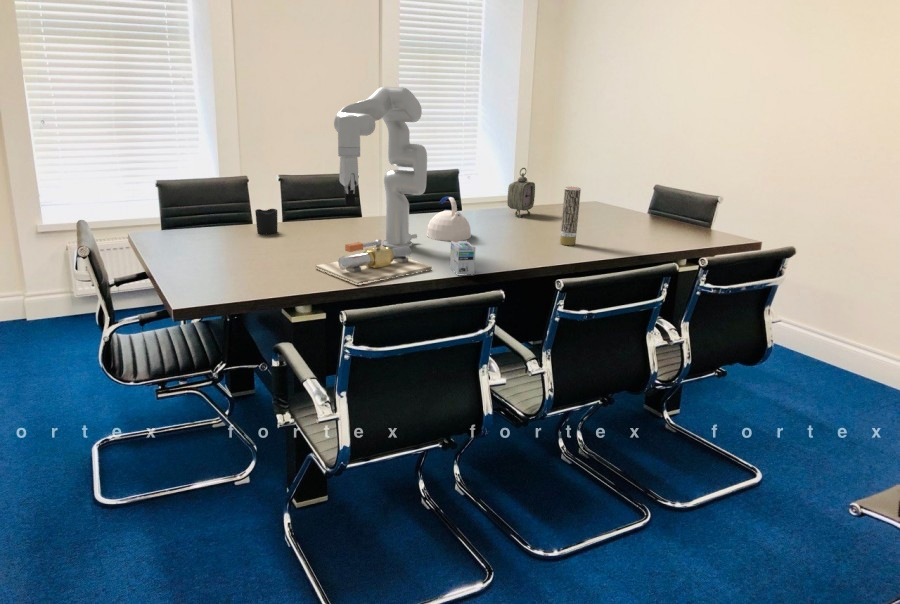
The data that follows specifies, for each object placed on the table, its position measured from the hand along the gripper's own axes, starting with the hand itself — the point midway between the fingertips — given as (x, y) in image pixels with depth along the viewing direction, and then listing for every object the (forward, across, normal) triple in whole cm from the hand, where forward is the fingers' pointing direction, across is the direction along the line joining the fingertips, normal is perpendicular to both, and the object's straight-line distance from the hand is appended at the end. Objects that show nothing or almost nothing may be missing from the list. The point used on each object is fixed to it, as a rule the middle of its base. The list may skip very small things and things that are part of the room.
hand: (349, 204), depth 242 cm
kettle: (+26, -49, +56) cm, 79 cm away
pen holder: (+25, -71, -22) cm, 79 cm away
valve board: (+25, -2, +9) cm, 27 cm away
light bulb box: (+25, +7, +41) cm, 48 cm away
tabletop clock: (+26, -87, +109) cm, 142 cm away
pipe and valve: (+24, -1, +10) cm, 26 cm away
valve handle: (+16, +1, +5) cm, 17 cm away
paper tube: (+25, -23, +102) cm, 108 cm away
